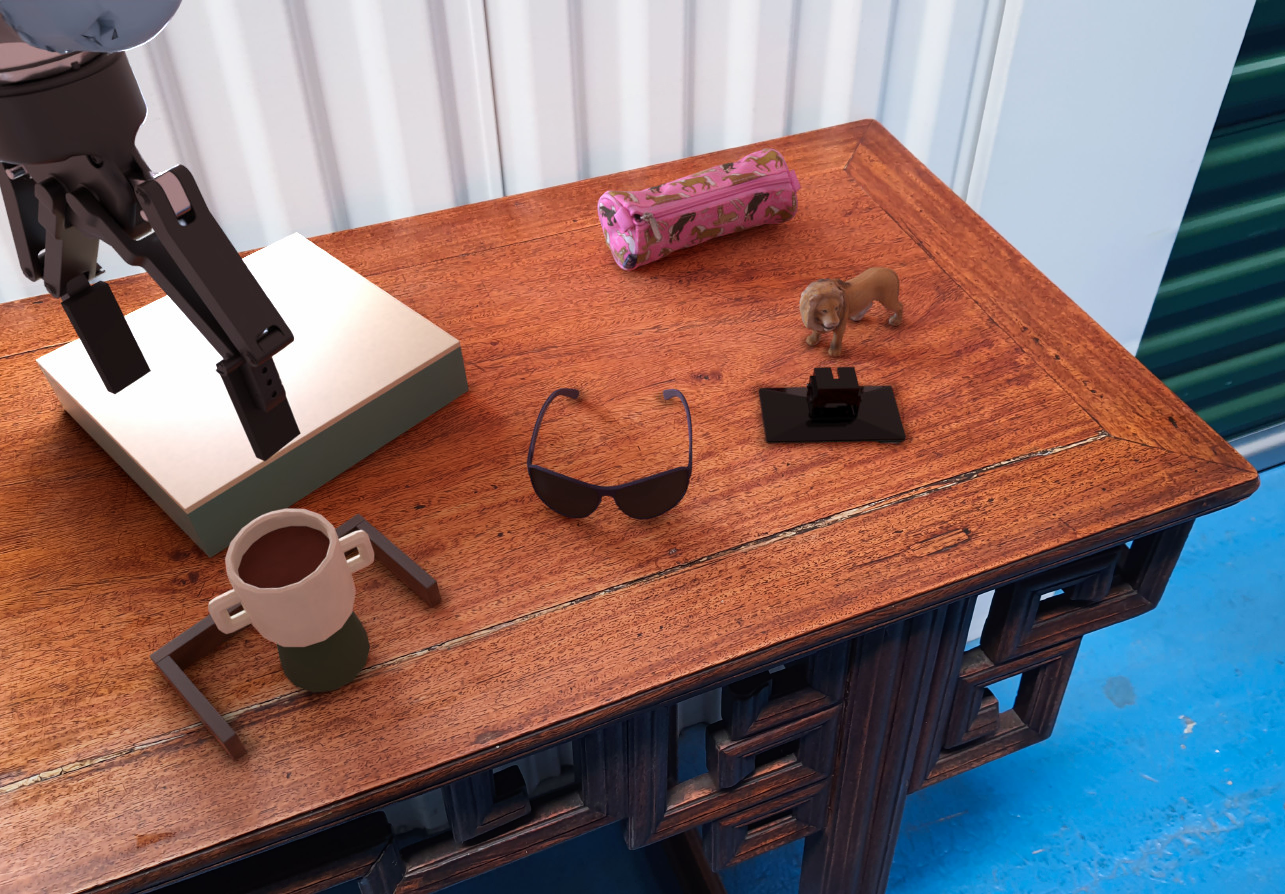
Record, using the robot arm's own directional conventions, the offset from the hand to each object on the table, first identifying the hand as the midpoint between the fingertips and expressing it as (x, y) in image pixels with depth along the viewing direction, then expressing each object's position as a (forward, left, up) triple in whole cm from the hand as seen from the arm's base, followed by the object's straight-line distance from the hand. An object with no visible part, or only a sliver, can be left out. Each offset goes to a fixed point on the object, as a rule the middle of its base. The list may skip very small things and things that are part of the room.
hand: (200, 412), depth 60 cm
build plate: (+46, -17, -22) cm, 54 cm away
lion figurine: (+56, -12, -22) cm, 61 cm away
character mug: (0, -5, -22) cm, 23 cm away
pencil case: (+59, +10, -22) cm, 64 cm away
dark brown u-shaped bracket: (0, -2, -22) cm, 22 cm away
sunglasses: (+29, -6, -22) cm, 37 cm away
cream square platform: (+12, +23, -22) cm, 34 cm away
